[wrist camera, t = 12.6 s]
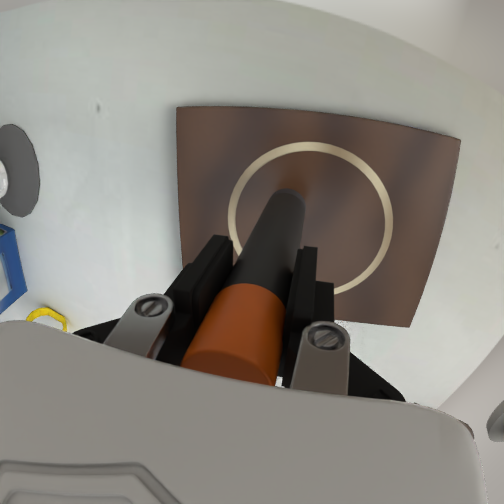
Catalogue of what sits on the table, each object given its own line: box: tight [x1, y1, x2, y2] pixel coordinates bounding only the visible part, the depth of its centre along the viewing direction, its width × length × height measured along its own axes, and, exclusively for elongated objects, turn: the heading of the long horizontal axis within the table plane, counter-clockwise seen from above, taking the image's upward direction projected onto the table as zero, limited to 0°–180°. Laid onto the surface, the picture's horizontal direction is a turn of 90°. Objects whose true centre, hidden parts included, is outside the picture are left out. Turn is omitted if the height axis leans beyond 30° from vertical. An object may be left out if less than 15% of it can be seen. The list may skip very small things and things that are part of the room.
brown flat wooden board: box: [176, 106, 461, 328], centre depth 23 cm, size 20×16×1 cm
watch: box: [26, 307, 67, 332], centre depth 34 cm, size 6×3×6 cm, turn 69°
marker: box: [180, 188, 306, 386], centre depth 14 cm, size 2×2×14 cm
